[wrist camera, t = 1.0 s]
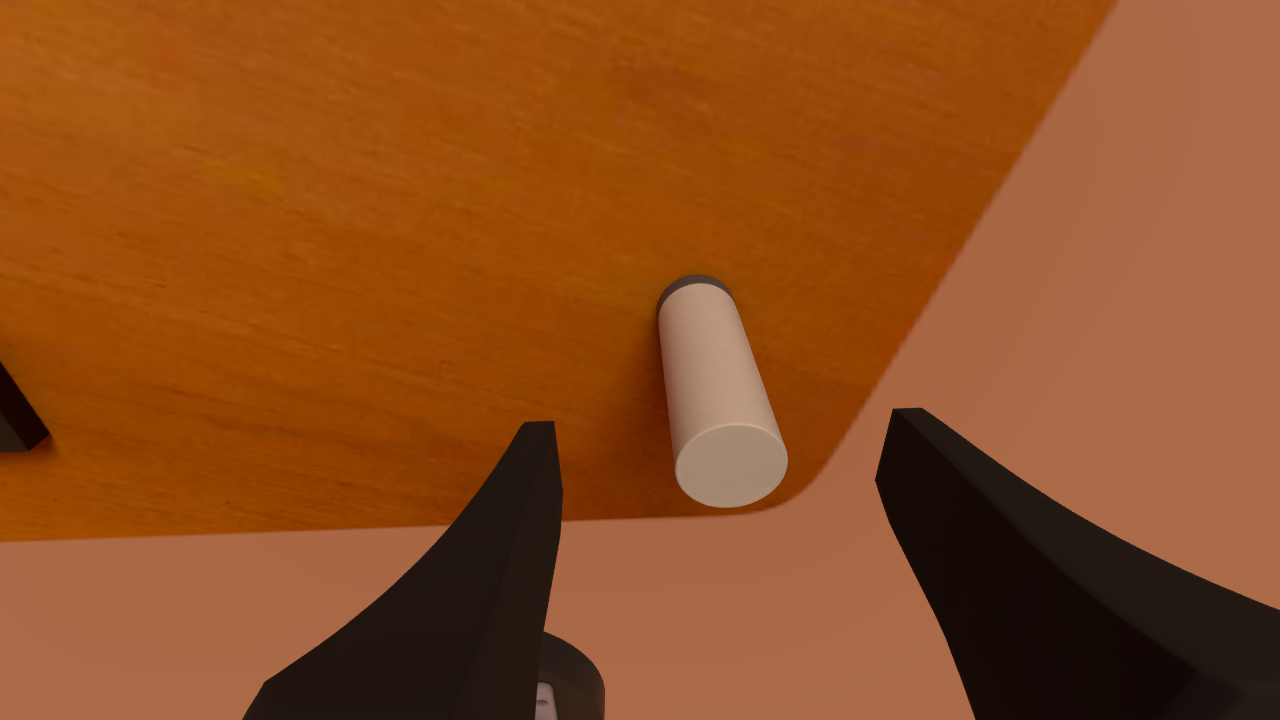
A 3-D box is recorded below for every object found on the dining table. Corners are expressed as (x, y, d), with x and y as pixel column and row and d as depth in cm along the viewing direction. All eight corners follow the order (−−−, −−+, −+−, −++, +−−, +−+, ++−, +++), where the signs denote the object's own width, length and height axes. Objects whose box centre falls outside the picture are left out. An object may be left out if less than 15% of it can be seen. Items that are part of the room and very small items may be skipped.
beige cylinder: (731, 341, 20) (782, 506, 14) (657, 343, 20) (674, 510, 14) (736, 272, 18) (794, 422, 12) (656, 275, 18) (675, 426, 12)
